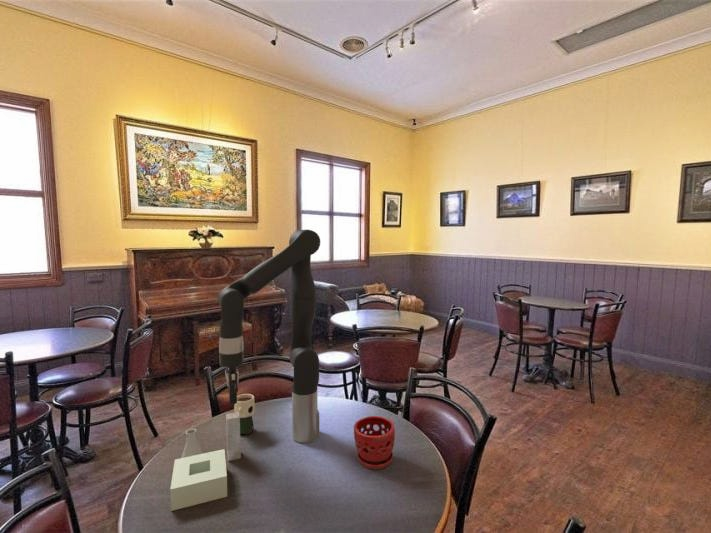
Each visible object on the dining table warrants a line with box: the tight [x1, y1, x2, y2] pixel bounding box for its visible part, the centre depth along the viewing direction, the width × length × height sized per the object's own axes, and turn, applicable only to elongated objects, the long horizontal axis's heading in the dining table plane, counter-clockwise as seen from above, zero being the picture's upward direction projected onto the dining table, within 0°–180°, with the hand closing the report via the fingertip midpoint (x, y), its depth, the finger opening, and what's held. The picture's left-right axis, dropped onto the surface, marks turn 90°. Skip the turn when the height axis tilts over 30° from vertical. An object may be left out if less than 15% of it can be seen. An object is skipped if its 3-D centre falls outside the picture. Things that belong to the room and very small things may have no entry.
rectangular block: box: [225, 411, 242, 462], centre depth 118 cm, size 4×4×14 cm
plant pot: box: [353, 415, 396, 470], centre depth 115 cm, size 13×13×12 cm
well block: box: [169, 448, 228, 512], centre depth 103 cm, size 14×14×6 cm
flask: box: [180, 428, 204, 458], centre depth 116 cm, size 7×7×10 cm
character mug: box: [233, 393, 256, 435], centre depth 134 cm, size 11×7×13 cm, turn 178°
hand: (232, 398), depth 117 cm, fingers open, 8 cm apart
